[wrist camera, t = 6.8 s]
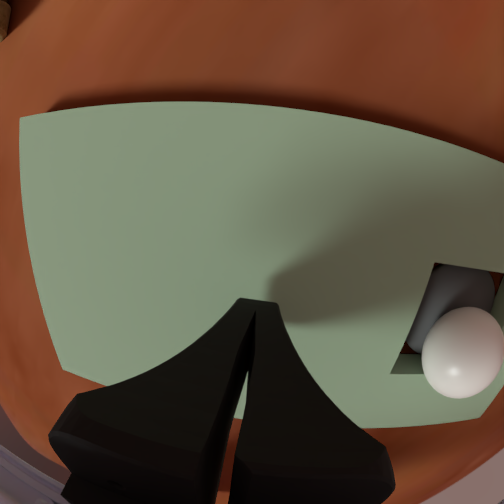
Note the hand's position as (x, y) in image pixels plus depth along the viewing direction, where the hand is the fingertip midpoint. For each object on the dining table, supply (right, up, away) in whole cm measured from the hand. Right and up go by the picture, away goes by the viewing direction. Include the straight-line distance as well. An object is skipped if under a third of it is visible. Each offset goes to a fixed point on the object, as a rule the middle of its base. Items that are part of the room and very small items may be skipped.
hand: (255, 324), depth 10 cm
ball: (+9, -2, 0) cm, 9 cm away
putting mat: (+2, +1, +2) cm, 3 cm away
